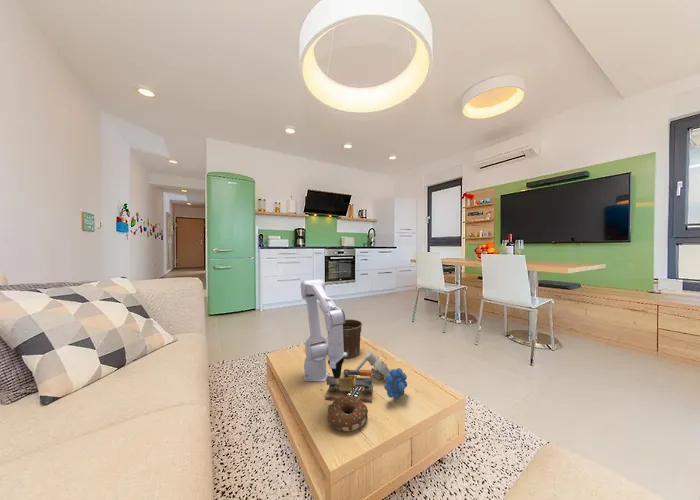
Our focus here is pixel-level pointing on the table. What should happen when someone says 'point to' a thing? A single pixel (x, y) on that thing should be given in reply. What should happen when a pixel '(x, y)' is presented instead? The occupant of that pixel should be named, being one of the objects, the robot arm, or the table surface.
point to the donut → (347, 420)
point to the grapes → (395, 383)
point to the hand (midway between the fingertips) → (337, 377)
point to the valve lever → (358, 372)
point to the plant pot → (351, 337)
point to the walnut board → (339, 393)
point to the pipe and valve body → (349, 383)
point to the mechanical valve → (375, 365)
